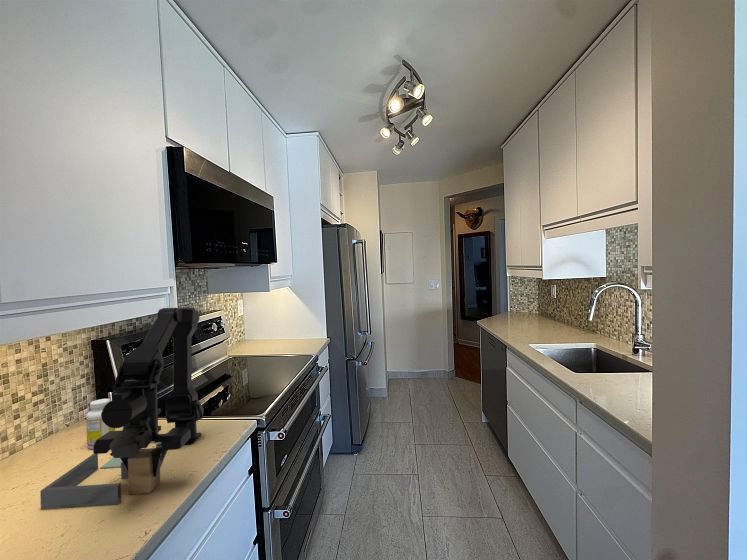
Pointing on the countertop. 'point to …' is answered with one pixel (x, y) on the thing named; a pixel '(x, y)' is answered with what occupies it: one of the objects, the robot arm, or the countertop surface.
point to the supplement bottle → (96, 422)
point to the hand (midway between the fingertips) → (144, 476)
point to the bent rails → (81, 488)
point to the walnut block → (142, 472)
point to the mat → (112, 463)
